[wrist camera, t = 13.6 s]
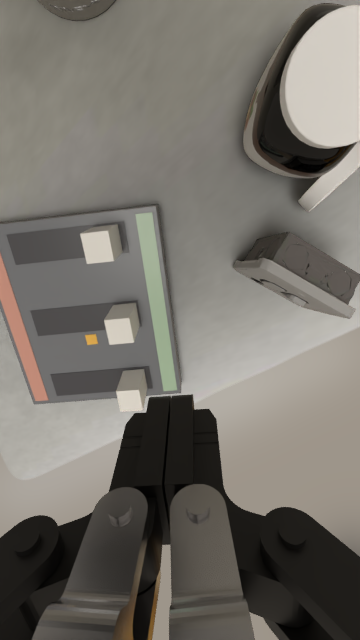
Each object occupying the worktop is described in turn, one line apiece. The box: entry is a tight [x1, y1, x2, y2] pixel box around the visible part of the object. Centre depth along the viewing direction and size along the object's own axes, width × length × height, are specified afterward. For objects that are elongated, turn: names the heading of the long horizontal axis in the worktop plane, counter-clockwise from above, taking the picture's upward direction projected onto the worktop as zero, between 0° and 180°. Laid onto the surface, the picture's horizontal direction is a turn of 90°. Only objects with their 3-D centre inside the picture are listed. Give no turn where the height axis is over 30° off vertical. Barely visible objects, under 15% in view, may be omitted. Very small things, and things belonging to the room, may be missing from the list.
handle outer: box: [116, 369, 147, 412], centre depth 36 cm, size 3×2×4 cm
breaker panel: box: [0, 204, 182, 404], centre depth 37 cm, size 21×18×3 cm
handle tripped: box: [104, 303, 140, 345], centre depth 33 cm, size 3×2×4 cm
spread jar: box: [243, 3, 360, 212], centre depth 25 cm, size 12×11×12 cm
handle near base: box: [80, 224, 123, 264], centre depth 30 cm, size 3×2×4 cm
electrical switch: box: [233, 232, 360, 319], centre depth 31 cm, size 9×5×9 cm, turn 61°
